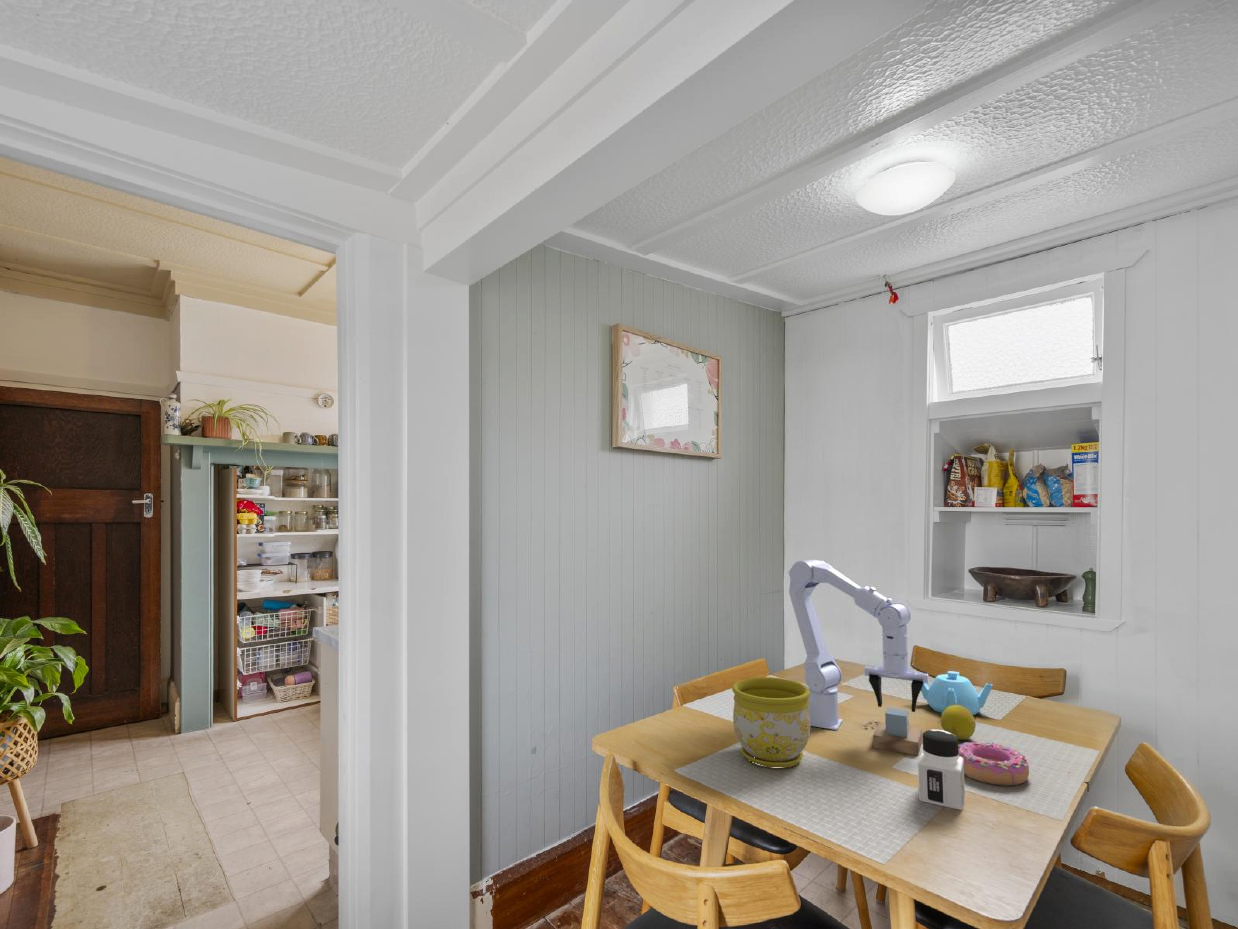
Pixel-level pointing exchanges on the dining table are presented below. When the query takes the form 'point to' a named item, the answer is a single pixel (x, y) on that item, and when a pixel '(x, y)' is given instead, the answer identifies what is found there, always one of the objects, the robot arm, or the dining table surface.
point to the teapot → (954, 693)
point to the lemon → (958, 722)
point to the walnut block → (898, 740)
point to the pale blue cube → (897, 722)
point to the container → (941, 770)
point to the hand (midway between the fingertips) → (896, 708)
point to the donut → (993, 763)
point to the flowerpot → (771, 720)
